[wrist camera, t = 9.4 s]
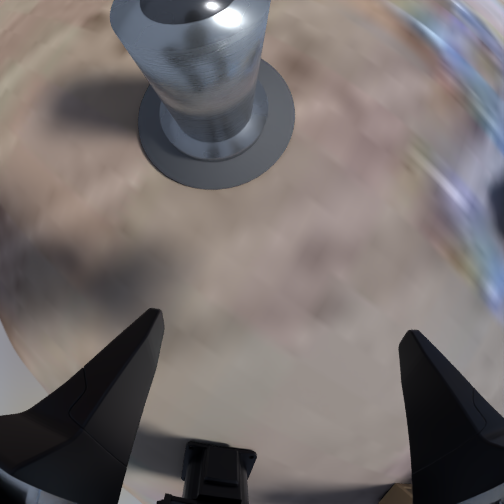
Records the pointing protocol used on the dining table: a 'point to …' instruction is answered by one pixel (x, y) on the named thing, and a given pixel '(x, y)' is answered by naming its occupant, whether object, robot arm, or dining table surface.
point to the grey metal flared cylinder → (200, 69)
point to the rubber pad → (231, 170)
